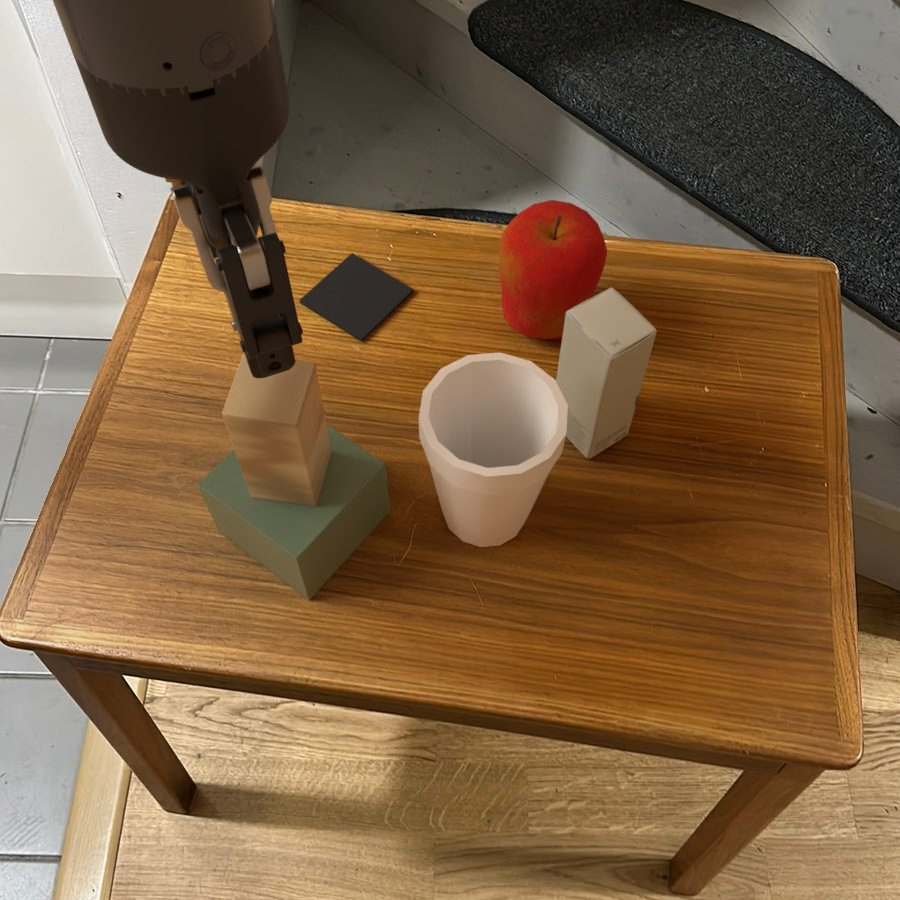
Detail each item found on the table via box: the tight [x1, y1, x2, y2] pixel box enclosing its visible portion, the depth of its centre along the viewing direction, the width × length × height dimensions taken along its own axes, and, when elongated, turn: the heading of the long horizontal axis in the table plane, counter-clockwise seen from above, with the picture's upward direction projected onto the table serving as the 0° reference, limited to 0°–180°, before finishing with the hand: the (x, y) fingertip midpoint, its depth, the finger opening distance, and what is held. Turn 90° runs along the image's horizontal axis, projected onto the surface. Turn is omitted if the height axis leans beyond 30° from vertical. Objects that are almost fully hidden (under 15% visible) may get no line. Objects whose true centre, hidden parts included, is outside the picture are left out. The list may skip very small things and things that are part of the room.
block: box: [221, 352, 331, 507], centre depth 58 cm, size 4×4×10 cm
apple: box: [498, 199, 608, 340], centre depth 74 cm, size 9×8×12 cm
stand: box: [197, 424, 390, 601], centre depth 65 cm, size 9×9×7 cm
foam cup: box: [418, 351, 568, 548], centre depth 64 cm, size 10×9×13 cm
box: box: [555, 287, 657, 460], centre depth 68 cm, size 5×4×13 cm
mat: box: [299, 252, 415, 343], centre depth 80 cm, size 7×7×1 cm
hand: (248, 307), depth 48 cm, fingers open, 8 cm apart
